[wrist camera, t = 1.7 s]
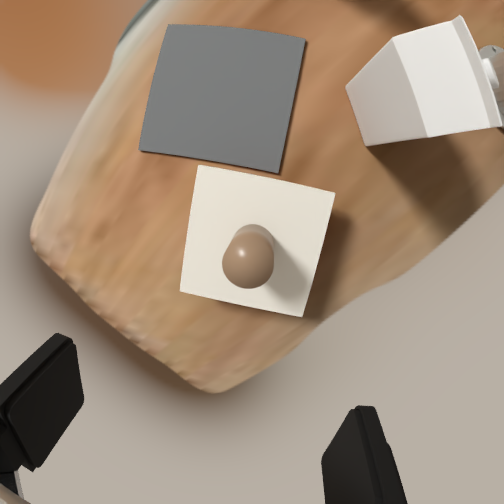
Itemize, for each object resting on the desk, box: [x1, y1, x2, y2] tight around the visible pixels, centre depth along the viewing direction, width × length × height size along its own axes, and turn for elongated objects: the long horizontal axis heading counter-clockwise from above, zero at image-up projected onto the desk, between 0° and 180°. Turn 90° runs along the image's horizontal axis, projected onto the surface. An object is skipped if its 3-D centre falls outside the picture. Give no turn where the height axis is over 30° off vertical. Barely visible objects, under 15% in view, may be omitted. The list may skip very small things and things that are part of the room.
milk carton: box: [345, 16, 502, 146], centre depth 20 cm, size 7×7×19 cm
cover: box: [180, 165, 335, 317], centre depth 27 cm, size 13×13×7 cm
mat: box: [138, 25, 306, 173], centre depth 30 cm, size 16×16×1 cm
